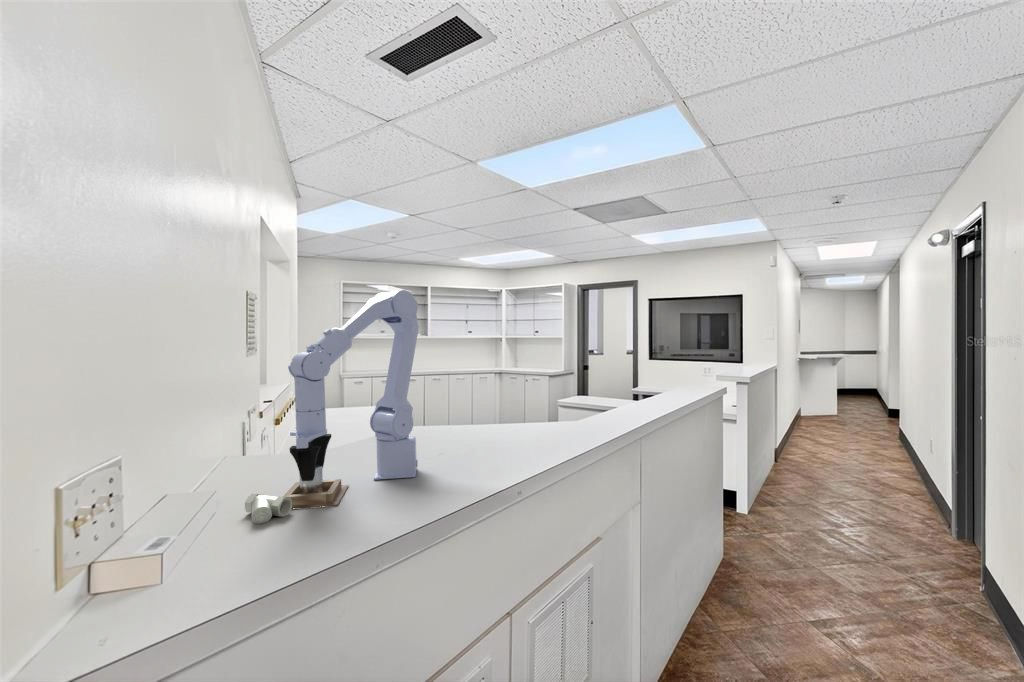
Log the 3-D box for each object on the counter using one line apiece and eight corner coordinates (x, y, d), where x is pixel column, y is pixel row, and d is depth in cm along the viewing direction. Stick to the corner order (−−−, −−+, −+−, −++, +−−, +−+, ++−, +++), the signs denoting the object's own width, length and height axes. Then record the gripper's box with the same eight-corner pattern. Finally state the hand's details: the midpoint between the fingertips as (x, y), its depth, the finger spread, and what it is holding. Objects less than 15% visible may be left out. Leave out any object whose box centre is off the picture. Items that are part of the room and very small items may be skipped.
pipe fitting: (265, 530, 84) (293, 512, 90) (263, 509, 84) (291, 493, 90) (230, 525, 86) (260, 508, 93) (228, 504, 86) (258, 489, 92)
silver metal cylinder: (325, 492, 100) (324, 464, 100) (319, 500, 96) (318, 470, 96) (304, 493, 100) (303, 465, 100) (296, 501, 95) (296, 471, 95)
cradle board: (348, 489, 105) (348, 476, 105) (337, 509, 93) (337, 495, 93) (291, 493, 103) (291, 480, 103) (273, 514, 91) (272, 500, 91)
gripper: (300, 405, 104) (302, 465, 104) (278, 417, 90) (280, 487, 90) (333, 403, 105) (335, 463, 106) (317, 415, 91) (319, 484, 91)
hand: (312, 474), depth 98 cm, fingers open, 7 cm apart
